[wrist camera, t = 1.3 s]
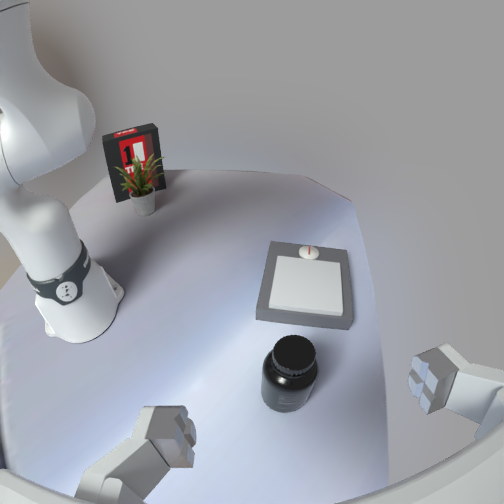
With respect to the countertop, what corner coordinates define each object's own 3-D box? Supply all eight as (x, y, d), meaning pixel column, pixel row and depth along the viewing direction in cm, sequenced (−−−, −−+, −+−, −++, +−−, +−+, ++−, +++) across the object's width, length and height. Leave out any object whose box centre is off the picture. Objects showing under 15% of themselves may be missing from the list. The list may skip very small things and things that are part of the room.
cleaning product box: (160, 178, 91) (152, 122, 78) (166, 188, 85) (157, 127, 72) (114, 191, 85) (102, 135, 72) (116, 202, 79) (102, 142, 66)
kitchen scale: (255, 319, 47) (256, 304, 44) (270, 252, 61) (270, 237, 58) (348, 330, 45) (354, 315, 42) (343, 260, 58) (347, 246, 56)
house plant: (185, 207, 75) (178, 151, 65) (145, 232, 66) (131, 172, 56) (154, 194, 82) (146, 144, 71) (117, 215, 73) (104, 162, 62)
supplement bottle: (316, 384, 37) (335, 342, 30) (294, 421, 33) (309, 391, 25) (275, 364, 40) (282, 318, 33) (251, 399, 36) (251, 361, 28)
